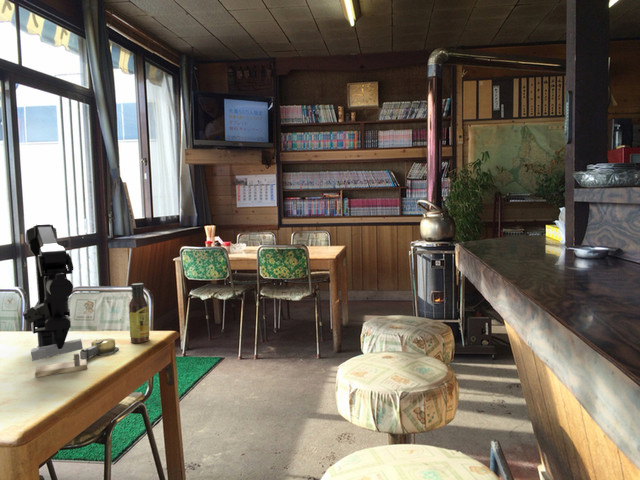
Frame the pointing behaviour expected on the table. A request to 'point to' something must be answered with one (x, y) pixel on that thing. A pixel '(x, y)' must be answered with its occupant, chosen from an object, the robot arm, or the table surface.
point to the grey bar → (55, 349)
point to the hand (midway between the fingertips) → (60, 347)
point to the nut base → (107, 352)
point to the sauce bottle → (138, 315)
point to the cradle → (61, 367)
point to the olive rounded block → (98, 348)
